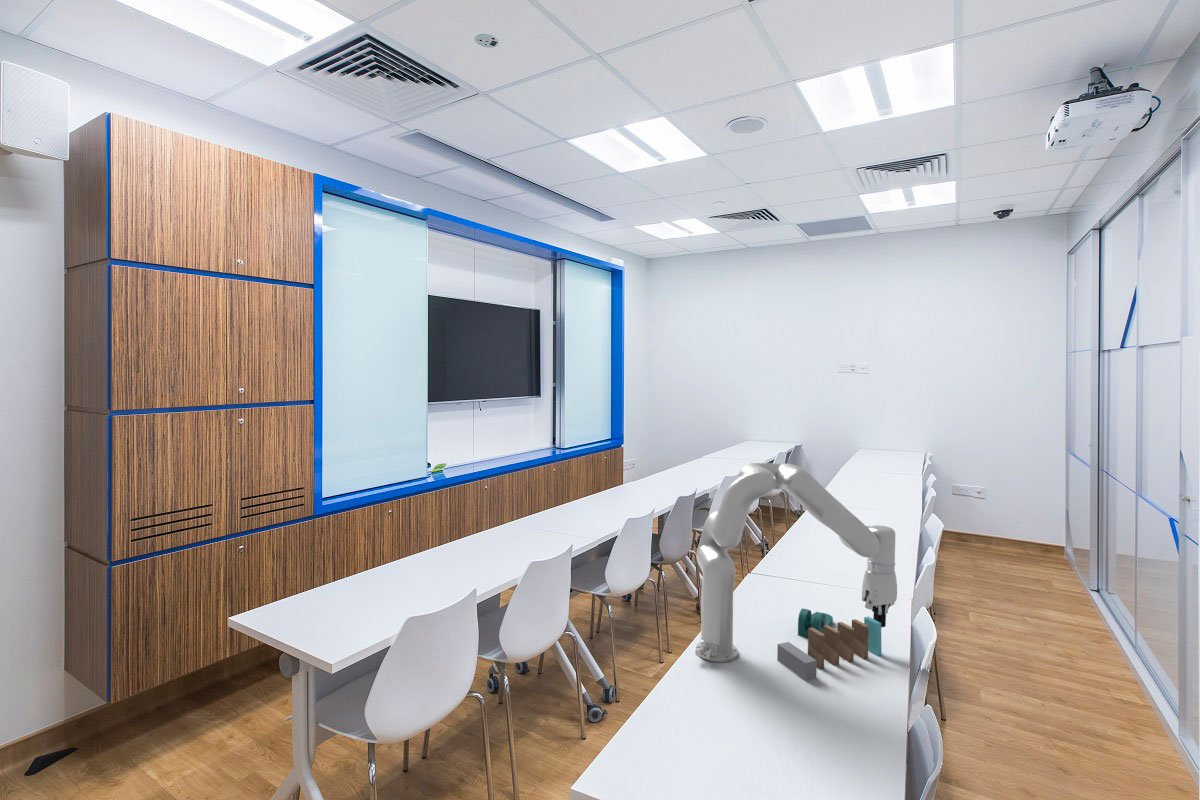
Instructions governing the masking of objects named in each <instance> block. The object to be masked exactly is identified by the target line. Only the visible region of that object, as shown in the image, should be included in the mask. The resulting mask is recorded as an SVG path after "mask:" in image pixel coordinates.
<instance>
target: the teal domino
mask: <svg viewBox="0 0 1200 800" xmlns="http://www.w3.org/2000/svg"><path fill="white" fill-rule="evenodd" d="M863 623H864V624H866V625H868V626H869V633H868V652H870V653H871V654H873V655H875V656H877V657H879V656H882V628H881V623H880V622H878V621H876V620H874V619H873V617H871V616H864V617H863Z"/></svg>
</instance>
